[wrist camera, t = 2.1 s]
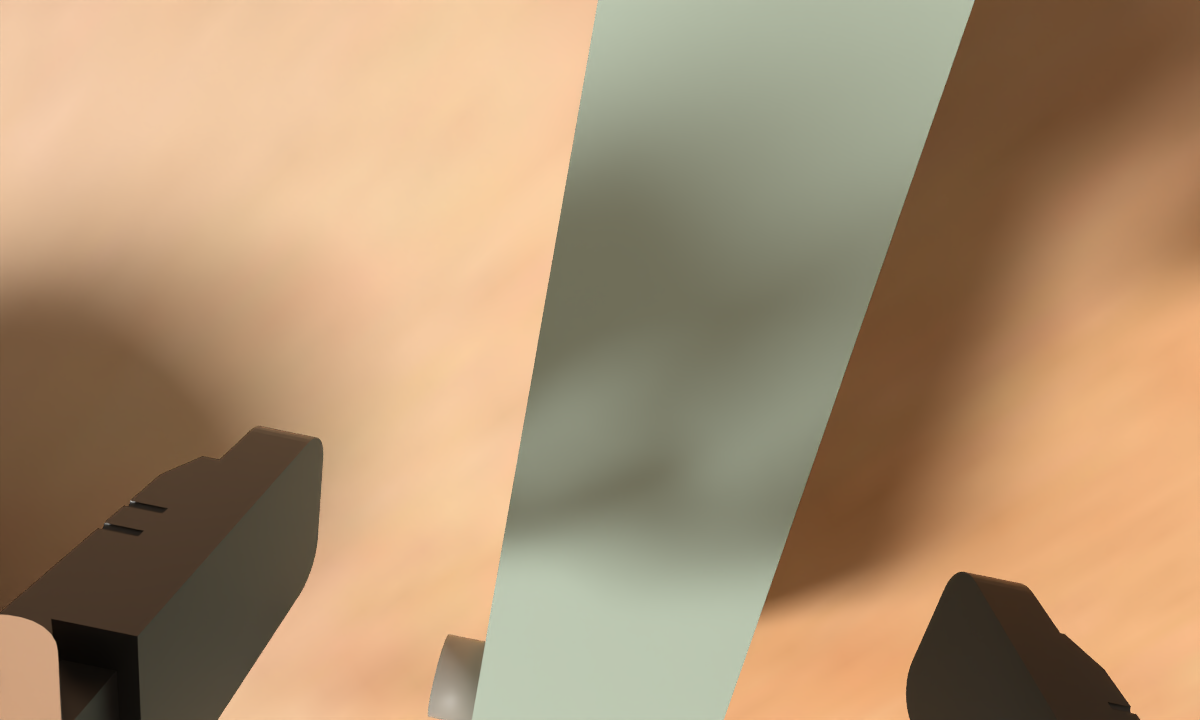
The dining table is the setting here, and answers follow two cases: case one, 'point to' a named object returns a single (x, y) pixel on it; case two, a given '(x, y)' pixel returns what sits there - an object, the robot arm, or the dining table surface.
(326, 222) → the dining table surface
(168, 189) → the dining table surface
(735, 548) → the door
